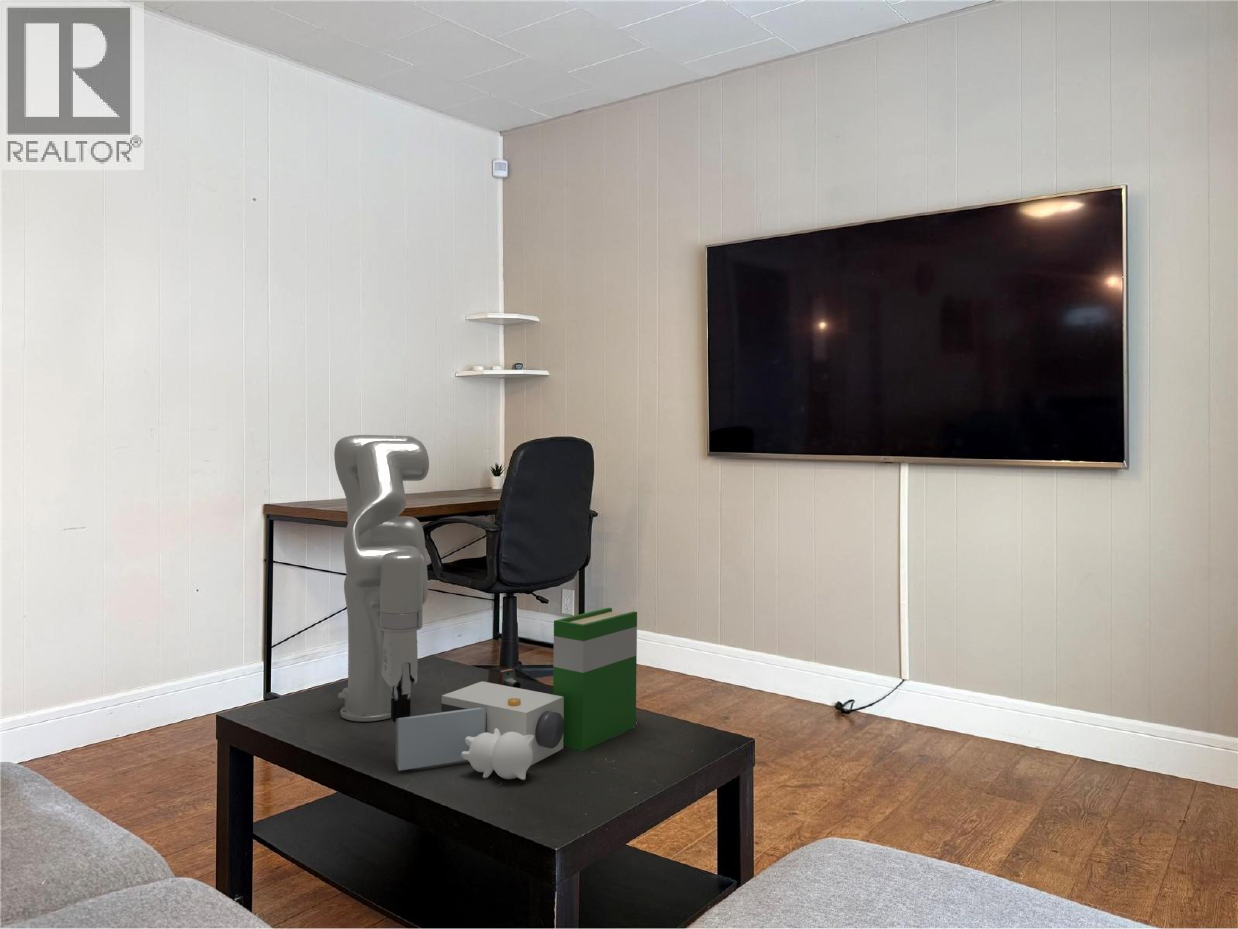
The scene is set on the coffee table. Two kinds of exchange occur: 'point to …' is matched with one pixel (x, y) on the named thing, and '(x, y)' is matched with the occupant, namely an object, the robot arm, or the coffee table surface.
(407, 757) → the side door
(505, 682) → the electronic device
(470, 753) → the cat figurine
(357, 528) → the robot arm
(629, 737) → the coffee table surface
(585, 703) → the hardback book
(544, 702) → the white rectangular box
